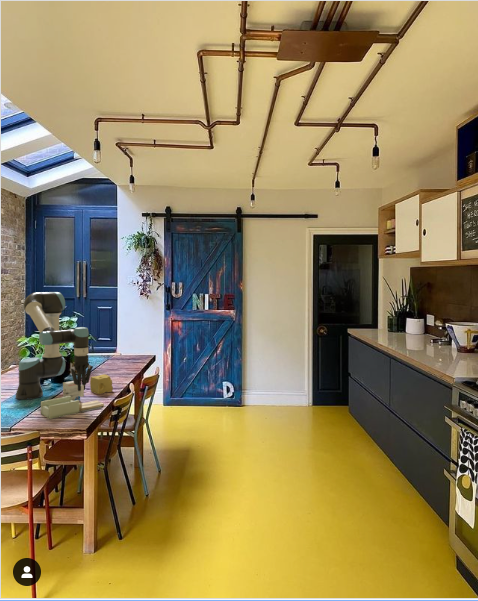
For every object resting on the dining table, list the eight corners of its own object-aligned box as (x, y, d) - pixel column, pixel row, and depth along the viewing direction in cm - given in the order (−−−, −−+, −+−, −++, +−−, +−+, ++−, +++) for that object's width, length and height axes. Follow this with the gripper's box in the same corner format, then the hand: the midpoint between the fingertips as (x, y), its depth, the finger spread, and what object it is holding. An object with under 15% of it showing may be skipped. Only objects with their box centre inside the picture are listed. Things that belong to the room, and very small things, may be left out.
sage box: (40, 413, 226) (40, 401, 226) (70, 407, 237) (70, 395, 237) (49, 419, 217) (49, 406, 217) (79, 412, 229) (79, 400, 228)
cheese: (112, 391, 272) (112, 376, 272) (97, 394, 264) (97, 379, 264) (104, 388, 279) (104, 373, 279) (89, 391, 271) (89, 376, 271)
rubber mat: (71, 406, 239) (71, 406, 239) (91, 402, 247) (91, 402, 247) (81, 412, 229) (81, 411, 229) (102, 408, 237) (102, 407, 237)
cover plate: (71, 407, 236) (71, 401, 236) (96, 402, 247) (96, 396, 247) (78, 411, 230) (78, 404, 230) (103, 405, 240) (103, 399, 240)
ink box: (76, 398, 255) (76, 379, 254) (80, 400, 252) (80, 381, 251) (62, 401, 248) (62, 382, 248) (66, 403, 245) (66, 383, 244)
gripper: (72, 357, 227) (72, 399, 228) (95, 354, 236) (95, 395, 237) (67, 355, 232) (67, 396, 234) (89, 352, 242) (89, 392, 243)
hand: (81, 396), depth 235 cm, fingers closed
